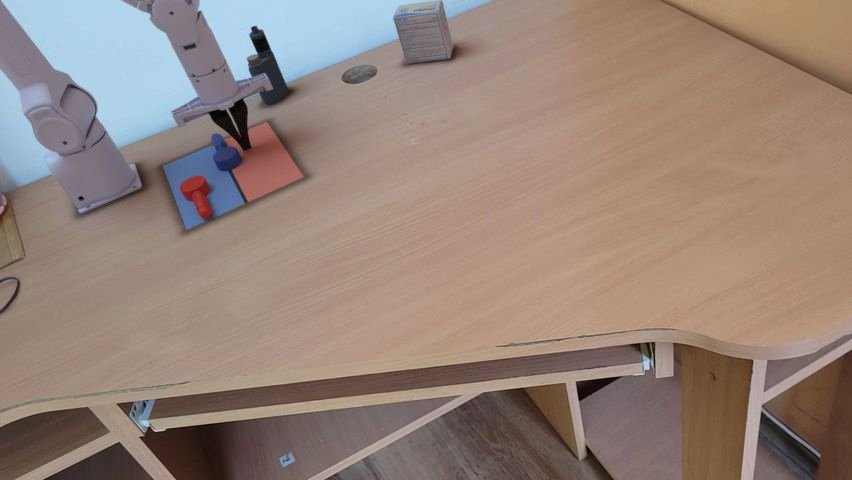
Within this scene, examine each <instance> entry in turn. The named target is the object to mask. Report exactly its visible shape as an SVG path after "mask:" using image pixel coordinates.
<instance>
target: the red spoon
mask: <svg viewBox="0 0 852 480" xmlns="http://www.w3.org/2000/svg"><path fill="white" fill-rule="evenodd" d="M180 191H181V192H182V194H183V196H184V197H185V199H186V200H188V201H193V202H194V204H195V207H196V209H197V211H198V214H199V216H200V217H201V218H204V219H207V218H210V217H211V215H212V209H211V207H210V205H209V203H208V200H207V198H206V195H207V194H208V193H209V192H210V186H209V185H208V183H207V181H206V179H205V178H204V177H203V176H193V177H190V178H188V179H186V180H185V181H183V182H182V183H181V185H180Z"/></svg>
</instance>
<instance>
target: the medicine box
mask: <svg viewBox="0 0 852 480" xmlns="http://www.w3.org/2000/svg"><path fill="white" fill-rule="evenodd" d="M392 19H393V22H394V27H395V30H396V33H397V36H398V40H399V43H400V46H401V50H402V53H403V57H404V62H405V63H406V65H410V64H417V63H425V62H433V61H442V60H450V59H451V57H452V54H453V49H454V42H453V38H452V35H451V31H450V27H449V22H448V18H447V15H446V10H445V5H444V2H443V0H430V1H423V2H422V1H421V2H415V3H414V2H413V3H409V4H400V5H398V6H397V8H396V10H395V12H394V14H393V16H392Z"/></svg>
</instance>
